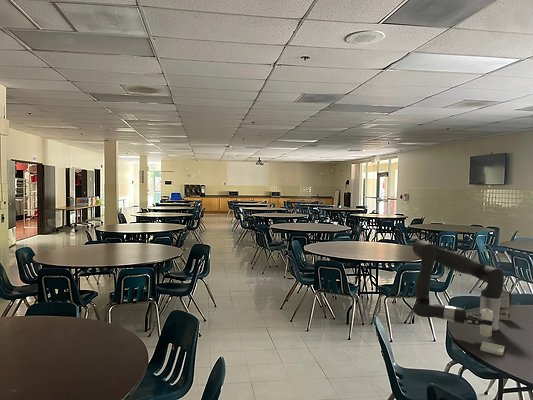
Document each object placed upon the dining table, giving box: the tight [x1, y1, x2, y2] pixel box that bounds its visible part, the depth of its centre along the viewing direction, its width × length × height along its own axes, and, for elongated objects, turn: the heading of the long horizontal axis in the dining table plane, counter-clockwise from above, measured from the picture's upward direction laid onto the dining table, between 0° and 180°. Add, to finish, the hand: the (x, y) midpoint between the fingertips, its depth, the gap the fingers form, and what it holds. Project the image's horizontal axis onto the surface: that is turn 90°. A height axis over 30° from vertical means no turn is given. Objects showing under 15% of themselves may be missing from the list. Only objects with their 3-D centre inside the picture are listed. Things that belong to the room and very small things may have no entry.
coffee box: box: [499, 288, 513, 321], centre depth 234 cm, size 9×6×16 cm
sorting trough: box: [479, 341, 506, 356], centre depth 186 cm, size 9×9×2 cm
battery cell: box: [479, 308, 493, 338], centre depth 195 cm, size 5×5×13 cm
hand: (492, 321), depth 193 cm, fingers closed on battery cell, 5 cm apart
